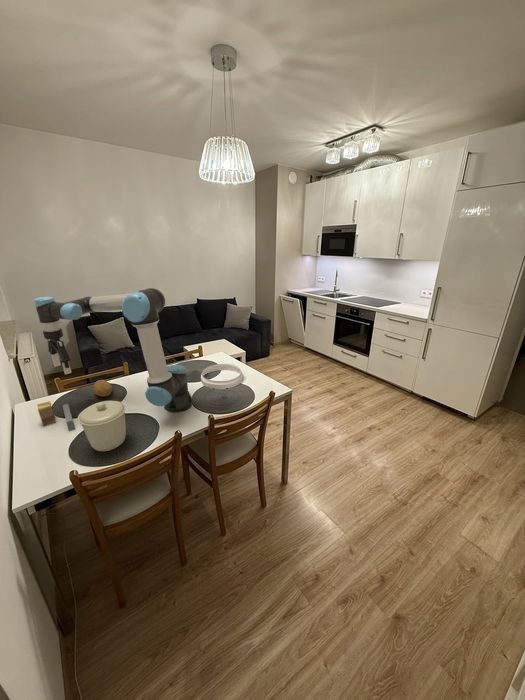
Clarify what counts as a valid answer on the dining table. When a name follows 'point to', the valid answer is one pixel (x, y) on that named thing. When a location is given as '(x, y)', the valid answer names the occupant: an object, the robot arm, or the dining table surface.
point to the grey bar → (68, 417)
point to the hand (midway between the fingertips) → (62, 369)
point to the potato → (102, 388)
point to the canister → (104, 424)
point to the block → (46, 413)
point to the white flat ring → (221, 384)
